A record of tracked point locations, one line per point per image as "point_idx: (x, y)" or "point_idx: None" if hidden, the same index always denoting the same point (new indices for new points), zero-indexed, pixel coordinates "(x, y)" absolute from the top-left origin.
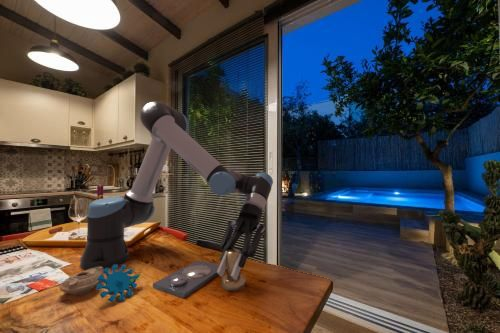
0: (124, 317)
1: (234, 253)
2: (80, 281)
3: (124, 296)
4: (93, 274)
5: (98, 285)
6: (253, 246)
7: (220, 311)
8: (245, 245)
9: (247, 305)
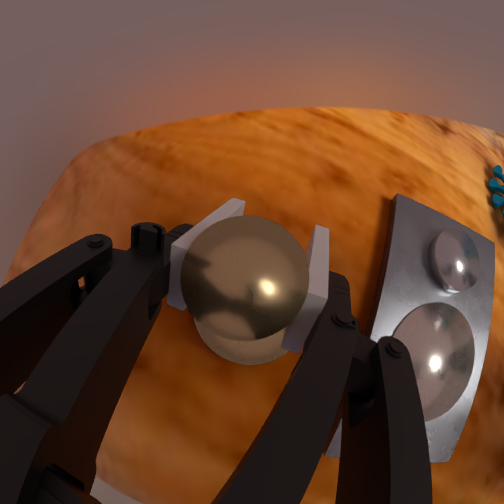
0: (444, 138)
1: (226, 218)
2: None
3: (493, 187)
4: None
5: None
6: (54, 255)
7: (259, 154)
8: (114, 285)
9: (183, 189)
